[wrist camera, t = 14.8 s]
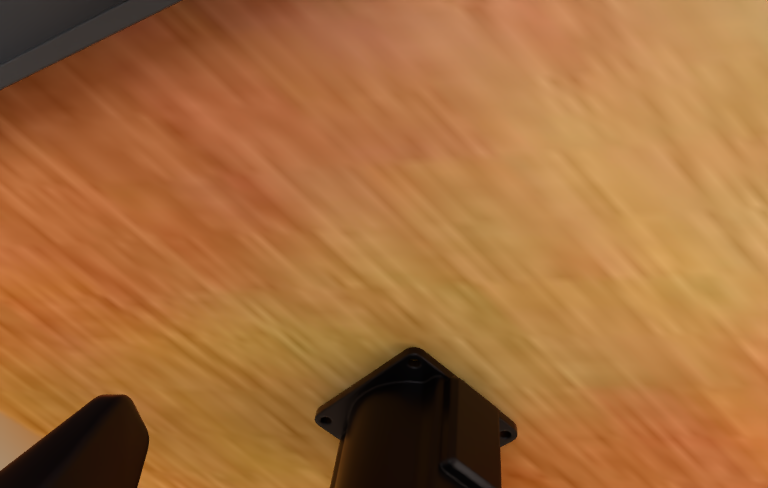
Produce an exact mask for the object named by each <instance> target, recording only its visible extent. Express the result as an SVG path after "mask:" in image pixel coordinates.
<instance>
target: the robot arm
mask: <svg viewBox="0 0 768 488" xmlns="http://www.w3.org/2000/svg"><path fill="white" fill-rule="evenodd" d="M411 359H417V360H418V361H413V360H411ZM315 421H316V423H317V424H318V425H319V426H320V427H322V428H323V429H325V430H326V431H328V432H329V433H331V434H332V435H333V436H335V437H336V438H338V439H339V440H340V443H339V448H338V453H337V457H336V462H335V467H334V471H333V476H332V481H331V485H330V488H501V460H500V447H502V446H504V445H506V444H507V443H509V442H511V441H513V440H514V439H516V437H517V427H516V424H515V423H514V422H513V421H512V420H510V419H509V418H508V417H507V416H505V415H504V414H503V413H502V412H500V411H499V410H498V409H497V408H496V407H495V406H494V405H493V404H491V403H490V402H489V401H488V400H486V399H485V398H484V397H482V396H481V395H480V394H479V393H477V392H476V391H475V390H474V389H472V388H471V387H470V386H469V385H467V384H466V383H465V382H464V381H462V380H461V379H460V378H458V377H456V376H455V375H454V374H453V373H451V372H450V371H449V370H448V369H446V368H445V367H444V366H443V365H441V364H440V363H439V362H437V361H436V360H435V359H434V358H432V357H431V356H430V355H429V354H427V353H426V352H425V351H424V350H422V349H420V348H416V347H412V348H408V349H406V350H404V351H403V352H401V353H400V354H398V355H397V356H395V357H394V358H392V359H391V360H389V361H388V362H386V363H385V364H383V365H382V366H381V367H379V368H378V369H376V370H375V371H373V372H372V373H370V374H369V375H367V376H366V377H364V378H363V379H361V380H360V381H358V382H357V383H355V384H354V385H352V386H351V387H349V388H348V389H346V390H345V391H343V392H342V393H340V394H339V395H337V396H336V397H334V398H333V399H331V400H330V401H328V402H327V403H325V404H324V405H322V406H321V407H319V408H318V410H317V413H316V416H315ZM148 446H149V435H148V431H147V428H146V426H145V424H144V422H143V420H142V419H141V417H140V415H139V413H138V411H137V409H136V407H135V405H134V403H133V401H132V400H131V398H129V397H128V396H127V395H100V396H98V397H96V398H94V399H93V400H92V401H90V402H89V403H88V404H86V405H85V406H84V407H83V408H81V409H80V410H79V411H77V412H76V413H75V414H73V415H72V416H71V417H70V418H68V419H67V420H66V421H64V422H63V423H62V424H61V425H59V426H58V427H57V428H55V429H54V430H53V431H51V432H50V433H49V434H48V435H46V436H45V437H44V438H42V439H41V440H40V441H38V442H37V443H36V444H35V445H33V446H32V447H31V448H29V449H28V450H27V451H26V452H24V453H23V454H22V455H20V456H19V457H18V458H16V459H15V460H14V461H13V462H11V463H10V464H9V465H7V466H6V467H5V468H3V469H2V470H1V471H0V488H137V486H138V483H139V479H140V476H141V472H142V468H143V465H144V461H145V458H146V454H147V451H148Z"/></svg>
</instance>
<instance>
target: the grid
mask: <svg viewBox="0 0 768 488" xmlns="http://www.w3.org/2000/svg"><path fill="white" fill-rule="evenodd" d="M180 1H182V0H0V90H1V89H4V88H6V87H8V86H10V85H12V84H14V83H16V82H18V81H20V80H22V79H24V78H26V77H28V76H30V75H32V74H34V73H36V72H38V71H40V70H42V69H44V68H46V67H48V66H50V65H52V64H54V63H56V62H58V61H60V60H62V59H64V58H66V57H68V56H70V55H72V54H74V53H77V52H79V51H81V50H83V49H85V48H87V47H89V46H91V45H93V44H95V43H97V42H99V41H101V40H103V39H105V38H107V37H109V36H111V35H113V34H115V33H117V32H119V31H121V30H123V29H125V28H127V27H129V26H131V25H133V24H135V23H137V22H139V21H141V20H143V19H145V18H147V17H149V16H152V15H154V14H156V13H158V12H160V11H162V10H164V9H166V8H168V7H170V6H172V5H174V4H176V3H178V2H180Z"/></svg>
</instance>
